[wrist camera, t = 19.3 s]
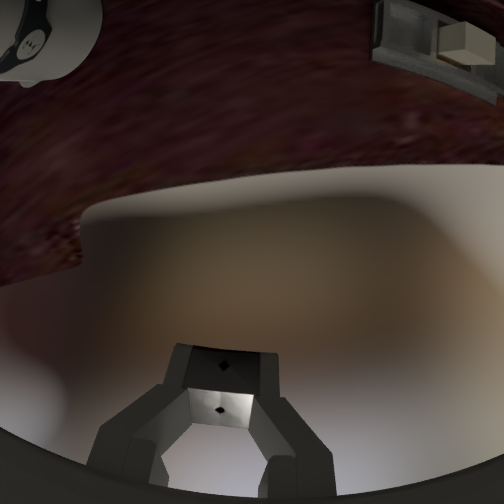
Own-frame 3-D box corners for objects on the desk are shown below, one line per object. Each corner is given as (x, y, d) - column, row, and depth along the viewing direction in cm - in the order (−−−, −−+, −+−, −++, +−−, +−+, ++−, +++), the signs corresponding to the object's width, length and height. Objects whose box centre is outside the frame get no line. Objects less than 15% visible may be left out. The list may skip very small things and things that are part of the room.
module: (430, 53, 27) (465, 49, 20) (431, 30, 26) (465, 21, 19) (458, 65, 27) (494, 64, 20) (459, 42, 26) (495, 37, 19)
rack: (369, 61, 30) (379, 58, 27) (373, -8, 25) (383, -16, 22) (491, 104, 30) (506, 107, 27) (495, 43, 25) (510, 43, 22)
